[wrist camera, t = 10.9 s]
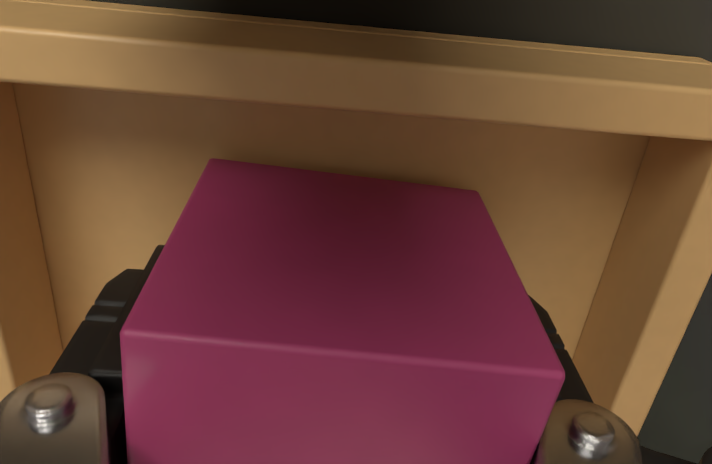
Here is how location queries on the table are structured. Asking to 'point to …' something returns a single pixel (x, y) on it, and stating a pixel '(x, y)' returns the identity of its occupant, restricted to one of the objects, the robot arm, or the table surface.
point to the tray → (355, 161)
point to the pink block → (334, 328)
